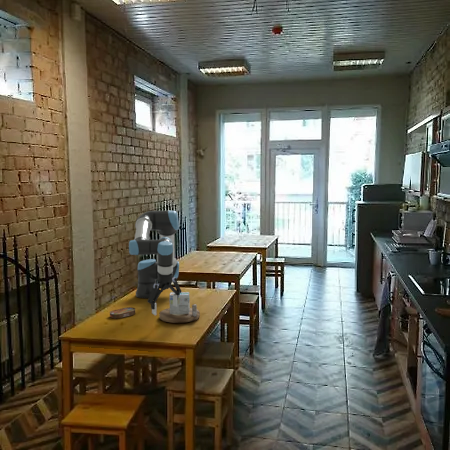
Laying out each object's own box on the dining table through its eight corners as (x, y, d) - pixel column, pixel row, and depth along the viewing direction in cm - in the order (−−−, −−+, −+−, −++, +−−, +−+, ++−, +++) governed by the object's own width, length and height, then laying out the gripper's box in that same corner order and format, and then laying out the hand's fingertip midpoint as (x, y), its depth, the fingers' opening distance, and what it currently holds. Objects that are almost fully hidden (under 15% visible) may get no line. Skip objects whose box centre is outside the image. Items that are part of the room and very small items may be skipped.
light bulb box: (189, 310, 253) (189, 291, 252) (189, 314, 247) (188, 294, 245) (170, 310, 253) (170, 291, 252) (169, 314, 246) (169, 294, 245)
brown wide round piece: (176, 308, 265) (176, 294, 264) (208, 314, 253) (208, 300, 252) (150, 318, 247) (150, 303, 246) (183, 325, 234) (183, 310, 233)
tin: (130, 306, 263) (138, 308, 257) (131, 311, 264) (138, 314, 257) (106, 311, 254) (113, 314, 247) (107, 317, 254) (114, 319, 247)
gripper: (179, 263, 238) (178, 299, 245) (140, 276, 221) (140, 315, 228) (188, 268, 233) (187, 305, 240) (149, 281, 216) (149, 320, 223)
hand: (164, 309), depth 234 cm, fingers open, 13 cm apart
